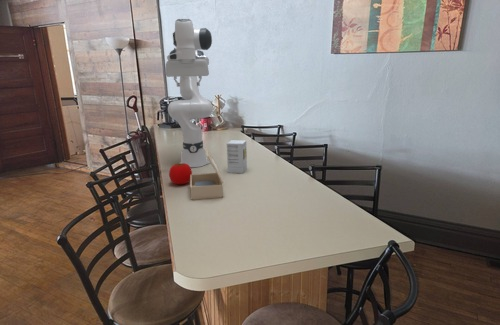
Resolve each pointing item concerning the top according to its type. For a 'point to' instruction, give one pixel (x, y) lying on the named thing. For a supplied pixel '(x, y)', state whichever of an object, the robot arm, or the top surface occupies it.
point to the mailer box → (205, 186)
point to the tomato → (180, 173)
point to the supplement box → (236, 156)
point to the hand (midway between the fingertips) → (188, 86)
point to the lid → (214, 165)
